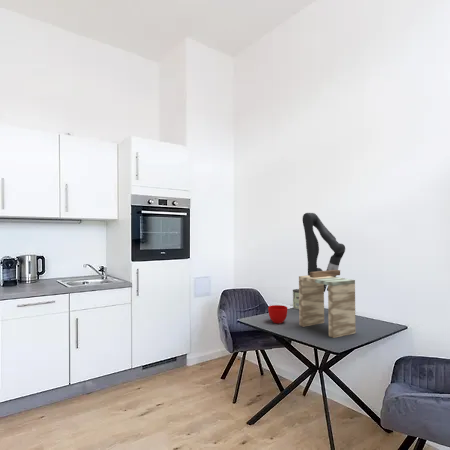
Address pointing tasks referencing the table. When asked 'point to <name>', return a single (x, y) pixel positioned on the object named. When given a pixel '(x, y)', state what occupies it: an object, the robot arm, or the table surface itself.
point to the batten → (324, 273)
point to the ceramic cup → (277, 313)
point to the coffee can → (296, 298)
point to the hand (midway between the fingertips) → (325, 291)
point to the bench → (337, 303)
